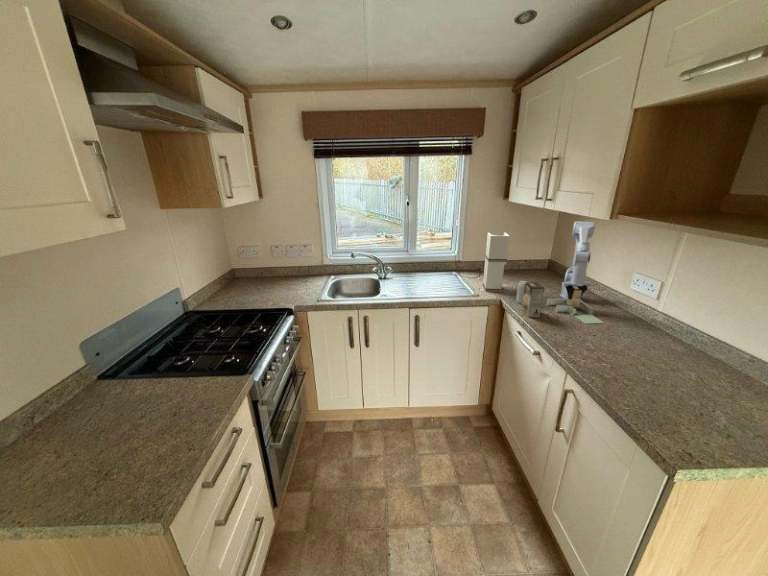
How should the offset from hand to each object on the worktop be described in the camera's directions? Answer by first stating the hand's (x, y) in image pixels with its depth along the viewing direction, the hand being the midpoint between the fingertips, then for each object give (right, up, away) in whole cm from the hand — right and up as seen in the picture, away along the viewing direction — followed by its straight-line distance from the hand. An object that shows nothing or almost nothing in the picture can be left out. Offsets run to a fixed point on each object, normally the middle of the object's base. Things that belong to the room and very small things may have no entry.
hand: (573, 298), depth 162 cm
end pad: (0, -10, -12) cm, 15 cm away
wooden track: (-3, -6, 0) cm, 6 cm away
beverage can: (-23, -3, +11) cm, 25 cm away
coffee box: (-25, -8, -3) cm, 26 cm away
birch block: (0, -3, +1) cm, 4 cm away
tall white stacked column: (-32, +5, +33) cm, 46 cm away
